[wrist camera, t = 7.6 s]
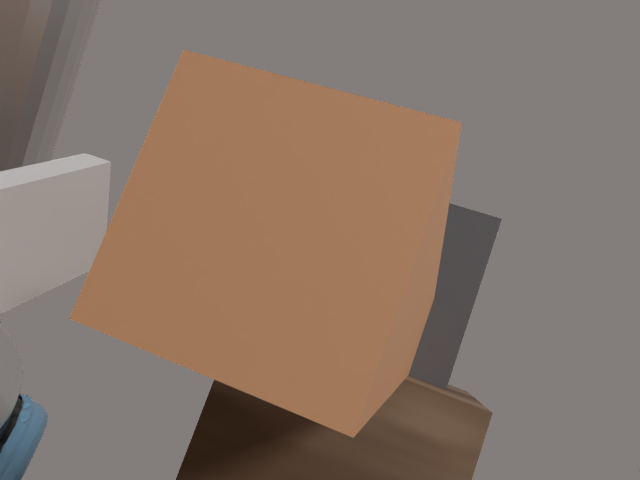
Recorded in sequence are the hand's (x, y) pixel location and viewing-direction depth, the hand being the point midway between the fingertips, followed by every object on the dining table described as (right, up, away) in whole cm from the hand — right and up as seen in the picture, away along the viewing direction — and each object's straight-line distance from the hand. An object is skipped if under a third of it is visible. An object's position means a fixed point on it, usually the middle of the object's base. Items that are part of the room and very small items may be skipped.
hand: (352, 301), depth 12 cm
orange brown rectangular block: (0, -3, +7) cm, 7 cm away
